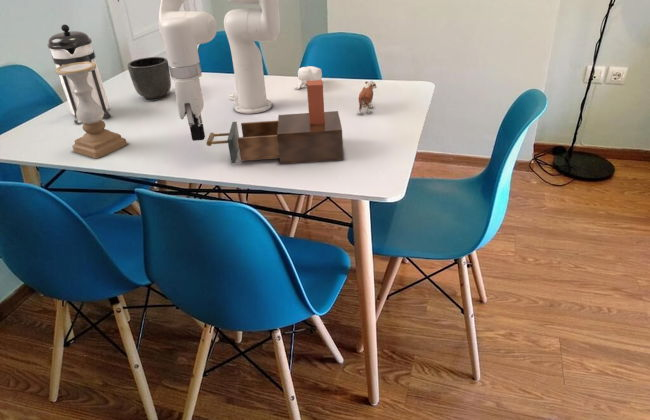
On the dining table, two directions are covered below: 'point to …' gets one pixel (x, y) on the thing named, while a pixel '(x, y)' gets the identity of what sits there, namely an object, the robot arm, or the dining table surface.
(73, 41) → the coffee press
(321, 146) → the cabinet
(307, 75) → the white lamb toy
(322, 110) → the block
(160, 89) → the planter
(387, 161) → the dining table surface
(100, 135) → the candle holder
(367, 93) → the bull figurine
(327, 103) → the dining table surface
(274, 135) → the drawer
